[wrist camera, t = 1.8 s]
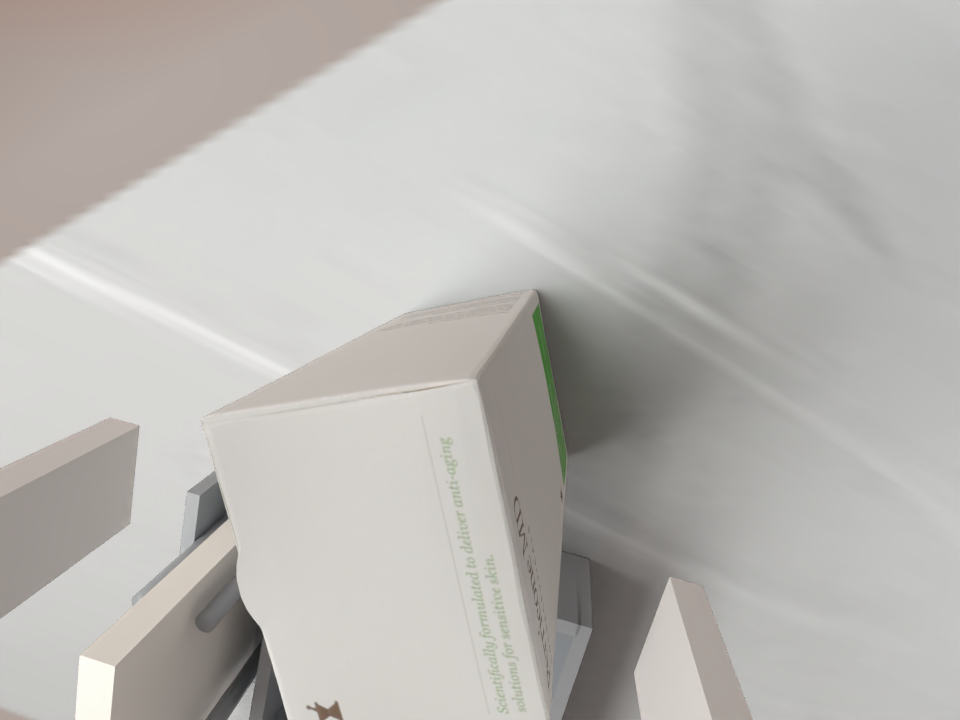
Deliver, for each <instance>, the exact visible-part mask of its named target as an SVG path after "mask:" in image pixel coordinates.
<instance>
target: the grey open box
mask: <svg viewBox="0 0 960 720" xmlns="http://www.w3.org/2000/svg"><path fill="white" fill-rule="evenodd" d="M237 559H238V550H237V547H236V543H235V540H234V536H233V533H232V529H231V526H230V522H229V518H228V515H227V511H226V508H225V504H224V501H223V497H222V494H221V490H220V486H219V483H218V479H217V476H216V472H215V471H214V472H213V473H211V474H210V475H209V476H207V477H206V478H205V479H203V480H202V481H201V482H199V483H198V484H197V485H195V486H194V487H193V488H191V489H190V490H189V491H187V495H186V504H185V512H184V520H183V529H182V537H181V546H180V554H179V556H178V557H177V558H176V559H175V560H174V561H173V562H172V563H170V564H169V565H168V566H167V567H166V568H165V569H164V570H163V571H161V572H160V573H159V574H158V575H157V576H156V577H155V578H154V579H153V580H151V581H150V582H149V583H148V584H147V585H146V586H145V587H144V588H142V589H141V590H140V591H139V592H138V593H137V594H136V595H135V596H134V597H133V598H132V605H133V607H132V608H131V609H130V610H128V611H127V612H126V613H125V614H124V615H123V616H122V617H121V618H120V619H119V620H118V621H116V622H115V623H114V624H113V625H112V626H111V627H110V628H109V629H108V630H107V631H106V632H104V633H103V634H102V635H101V636H100V637H99V638H98V639H97V640H96V641H95V642H94V643H92V644H91V645H90V646H89V647H88V648H87V649H86V650H85V651H84V652H83V653H82V654H80V659H79V674H78V688H77V702H76V716H75V720H227V719H228V717H229V716H230V715H231V713H232V712H233V710H234V709H235V707H236V706H237V704H238V703H239V701H240V700H241V698H242V697H243V695H244V694H245V692H246V691H247V689H248V688H249V686H250V685H251V683H252V682H255V687H254V693H253V699H252V705H251V711H250V717H249V720H288V719H287V715H286V711H285V708H284V704H283V700H282V697H281V693H280V690H279V686H278V683H277V679H276V676H275V673H274V669H273V665H272V662H271V659H270V656H269V652H268V649H267V646H266V642H265V639H264V635H263V632H262V629H261V628H260V626H259V625H258V624H257V623H256V621H255V620H254V619H253V618H252V616H251V615H250V613H249V612H248V610H247V609H246V607H245V605H244V603H243V601H242V598H241V595H240V591H239V587H238V583H237V572H236V566H237ZM592 629H593V625H592V606H591V587H590V568H589V559H587V558H583V557H580V556H576V555H573V554H570V553H566V552H563V551H561V563H560V580H559V594H558V609H557V623H556V637H555V650H554V661H553V682H552V698H551V714H550V717H551V720H562V717H563V714H564V711H565V708H566V705H567V702H568V699H569V696H570V693H571V691H572V688H573V685H574V682H575V679H576V676H577V673H578V670H579V667H580V664H581V661H582V659H583V656H584V653H585V650H586V647H587V644H588V641H589V638H590V635H591V632H592Z"/></svg>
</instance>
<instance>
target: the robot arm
mask: <svg viewBox="0 0 960 720" xmlns="http://www.w3.org/2000/svg"><path fill="white" fill-rule="evenodd" d="M138 435H139V425H135V424H132V423H128V422H125V421H121V420H118V419H114V418H111V417H110V418H108V419H106V420H104V421H102V422H99V423H97V424H95V425H93V426H91V427H89V428H86V429H84V430H82V431H80V432H78V433H76V434H73V435H71V436H69V437H67V438H65V439H63V440H61V441H58V442H56V443H54V444H52V445H50V446H48V447H45V448H43V449H41V450H39V451H37V452H35V453H32V454H30V455H28V456H26V457H24V458H22V459H20V460H17V461H15V462H13V463H11V464H9V465H7V466H4V467H2V468H0V619H1V618H2V617H3V616H5V615H6V614H7V613H9V612H10V611H12V610H13V609H14V608H16V607H17V606H18V605H20V604H21V603H22V602H24V601H25V600H27V599H28V598H29V597H31V596H32V595H33V594H35V593H36V592H37V591H39V590H40V589H42V588H43V587H44V586H46V585H47V584H48V583H50V582H51V581H53V580H54V579H55V578H57V577H58V576H59V575H61V574H62V573H63V572H65V571H66V570H68V569H69V568H70V567H72V566H73V565H74V564H76V563H77V562H78V561H80V560H81V559H83V558H84V557H85V556H87V555H88V554H89V553H91V552H92V551H94V550H95V549H96V548H98V547H99V546H100V545H102V544H103V543H104V542H106V541H107V540H109V539H110V538H111V537H113V536H114V535H115V534H117V533H118V532H119V531H121V530H122V529H124V528H125V527H126V526H128V525H129V524H130V518H131V507H132V497H133V487H134V476H135V466H136V456H137V446H138ZM634 677H635V683H636V689H637V696H638V702H639V708H640V715H641V720H753V719H752V716H751V713H750V711H749V708H748V705H747V703H746V700H745V697H744V695H743V692H742V689H741V687H740V684H739V682H738V679H737V676H736V674H735V671H734V668H733V666H732V663H731V660H730V658H729V655H728V652H727V650H726V647H725V644H724V642H723V639H722V636H721V634H720V631H719V628H718V626H717V623H716V620H715V618H714V615H713V612H712V610H711V607H710V604H709V602H708V599H707V596H706V594H705V591H704V588H703V586H701V585H698V584H694V583H691V582H687V581H684V580H680V579H677V578H673V577H669V580H668V582H667V585H666V588H665V590H664V593H663V596H662V598H661V601H660V604H659V607H658V609H657V612H656V615H655V617H654V620H653V623H652V625H651V628H650V631H649V633H648V636H647V639H646V642H645V644H644V647H643V650H642V652H641V655H640V658H639V660H638V663H637V666H636V669H635V671H634Z"/></svg>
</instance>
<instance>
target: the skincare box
mask: <svg viewBox="0 0 960 720" xmlns="http://www.w3.org/2000/svg"><path fill="white" fill-rule="evenodd" d="M201 426H202V429H203V432H204V435H205V438H206V440H207V444H208V447H209V451H210V455H211V458H212V462H213V465H214V469H215V472H216V476H217V479H218V483H219V486H220V490H221V494H222V497H223V501H224V504H225V508H226V511H227V515H228V518H229V522H230V526H231V529H232V533H233V536H234V540H235V543H236V547H237V550H238V559H237V566H236V572H237V583H238V587H239V591H240V595H241V598H242V601H243V603H244V605H245V607H246V609H247V610H248V612H249V613H250V615H251V616H252V618H253V619H254V620H255V621H256V623H257V624H258V625H259V626H260V628H261V629H262V632H263V635H264V639H265V642H266V646H267V649H268V652H269V656H270V659H271V662H272V665H273V669H274V673H275V676H276V679H277V683H278V686H279V690H280V693H281V697H282V700H283V704H284V708H285V711H286V715H287V719H288V720H551V717H550V714H551V698H552V682H553V661H554V650H555V637H556V623H557V609H558V594H559V580H560V563H561V549H562V537H563V520H564V505H565V493H566V480H567V467H568V453H567V448H566V443H565V437H564V432H563V426H562V421H561V415H560V409H559V404H558V399H557V394H556V388H555V383H554V378H553V373H552V368H551V363H550V358H549V353H548V347H547V342H546V337H545V331H544V326H543V320H542V314H541V309H540V303H539V297H538V293H537V291H536V290H534V289H533V290H526V291H519V292H513V293H508V294H502V295H497V296H492V297H486V298H481V299H476V300H471V301H466V302H461V303H456V304H451V305H446V306H441V307H436V308H430V309H425V310H420V311H415V312H410V313H405V314H403V315H401V316H399V317H397V318H395V319H393V320H391V321H389V322H387V323H385V324H383V325H381V326H379V327H377V328H375V329H373V330H371V331H369V332H368V333H366V334H364V335H362V336H360V337H358V338H356V339H354V340H352V341H350V342H348V343H346V344H345V345H343V346H341V347H339V348H337V349H335V350H333V351H331V352H329V353H327V354H325V355H323V356H321V357H319V358H317V359H316V360H314V361H312V362H310V363H308V364H306V365H304V366H303V367H301V368H299V369H297V370H295V371H293V372H291V373H289V374H287V375H285V376H283V377H281V378H279V379H277V380H275V381H273V382H271V383H269V384H268V385H266V386H264V387H262V388H260V389H258V390H256V391H254V392H252V393H250V394H249V395H247V396H245V397H243V398H241V399H239V400H237V401H235V402H233V403H231V404H229V405H227V406H225V407H223V408H221V409H219V410H217V411H215V412H213V413H211V414H209V415H207V416H205V417H203V418H202V419H201Z"/></svg>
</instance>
